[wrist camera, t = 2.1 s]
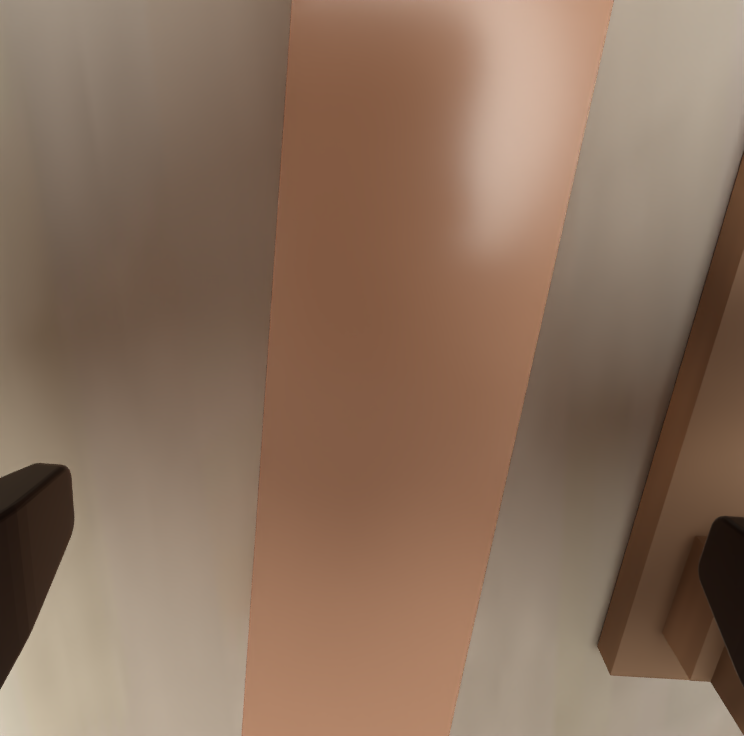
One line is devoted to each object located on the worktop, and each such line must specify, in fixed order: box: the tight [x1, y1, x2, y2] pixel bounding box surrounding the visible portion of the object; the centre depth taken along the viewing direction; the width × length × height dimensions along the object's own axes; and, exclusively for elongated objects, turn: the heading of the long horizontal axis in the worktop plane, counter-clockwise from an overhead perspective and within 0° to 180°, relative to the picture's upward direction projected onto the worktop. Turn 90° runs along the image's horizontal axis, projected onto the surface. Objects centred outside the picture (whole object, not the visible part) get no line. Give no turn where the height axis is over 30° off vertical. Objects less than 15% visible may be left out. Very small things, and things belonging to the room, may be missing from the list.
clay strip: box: [242, 0, 614, 736], centre depth 13 cm, size 16×4×5 cm, turn 173°
